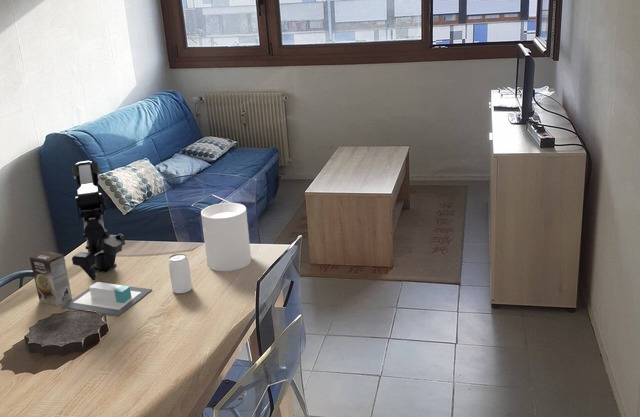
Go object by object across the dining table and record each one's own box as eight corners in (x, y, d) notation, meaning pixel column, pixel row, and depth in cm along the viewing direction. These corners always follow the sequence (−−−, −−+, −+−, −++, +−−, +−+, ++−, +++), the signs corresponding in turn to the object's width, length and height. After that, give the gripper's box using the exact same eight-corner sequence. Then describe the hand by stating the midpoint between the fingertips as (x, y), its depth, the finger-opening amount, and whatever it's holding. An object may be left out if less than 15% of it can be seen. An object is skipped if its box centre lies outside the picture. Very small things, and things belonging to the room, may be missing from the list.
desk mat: (62, 307, 205) (61, 306, 205) (98, 283, 221) (97, 281, 221) (118, 316, 198) (118, 314, 198) (151, 290, 214) (151, 288, 213)
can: (190, 293, 210) (185, 260, 206) (170, 294, 210) (165, 261, 206) (194, 285, 216) (189, 252, 212) (175, 285, 216) (170, 253, 212)
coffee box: (38, 301, 210) (28, 257, 205) (54, 293, 216) (44, 249, 210) (57, 306, 206) (47, 261, 201) (73, 298, 212) (64, 253, 206)
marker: (91, 298, 209) (89, 287, 208) (99, 292, 213) (97, 281, 211) (124, 303, 205) (122, 292, 203) (131, 297, 208) (129, 286, 207)
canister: (199, 269, 227) (192, 217, 221) (218, 251, 242) (213, 201, 235) (240, 273, 223) (235, 219, 216) (257, 254, 237) (253, 203, 230)
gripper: (96, 243, 190) (105, 289, 195) (134, 220, 206) (141, 264, 212) (66, 239, 194) (75, 285, 199) (105, 218, 210) (113, 261, 216)
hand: (103, 274), depth 206 cm, fingers open, 9 cm apart
